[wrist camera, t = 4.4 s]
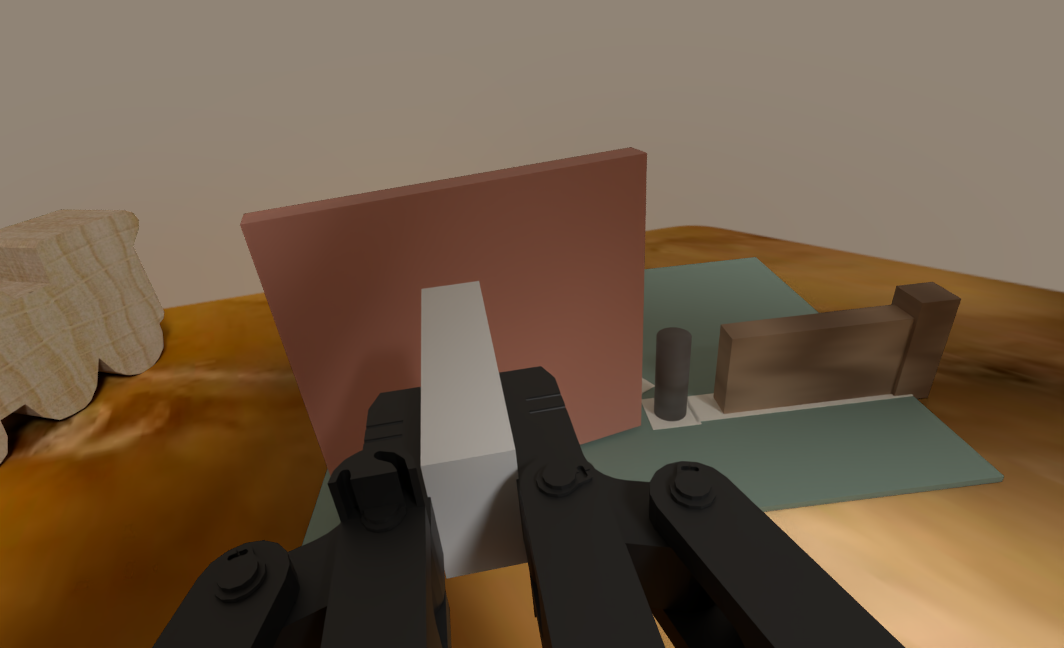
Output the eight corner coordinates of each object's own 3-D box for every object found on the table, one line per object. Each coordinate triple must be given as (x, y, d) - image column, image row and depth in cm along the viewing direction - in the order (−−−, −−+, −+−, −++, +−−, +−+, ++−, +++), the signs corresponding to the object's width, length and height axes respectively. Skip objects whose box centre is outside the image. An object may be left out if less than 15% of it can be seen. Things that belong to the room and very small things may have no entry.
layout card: (755, 260, 43) (755, 256, 43) (1001, 481, 23) (1004, 475, 23) (384, 301, 42) (383, 297, 42) (297, 570, 22) (295, 565, 22)
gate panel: (629, 411, 28) (630, 147, 21) (641, 425, 27) (646, 153, 20) (344, 499, 24) (243, 213, 18) (346, 519, 23) (240, 224, 17)
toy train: (-164, 510, 27) (-339, 338, 22) (134, 334, 41) (67, 203, 36) (-90, 529, 26) (-260, 348, 21) (192, 339, 40) (131, 204, 35)
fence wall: (903, 377, 29) (932, 281, 27) (927, 397, 28) (961, 298, 25) (649, 407, 29) (652, 313, 26) (659, 429, 27) (663, 332, 25)
